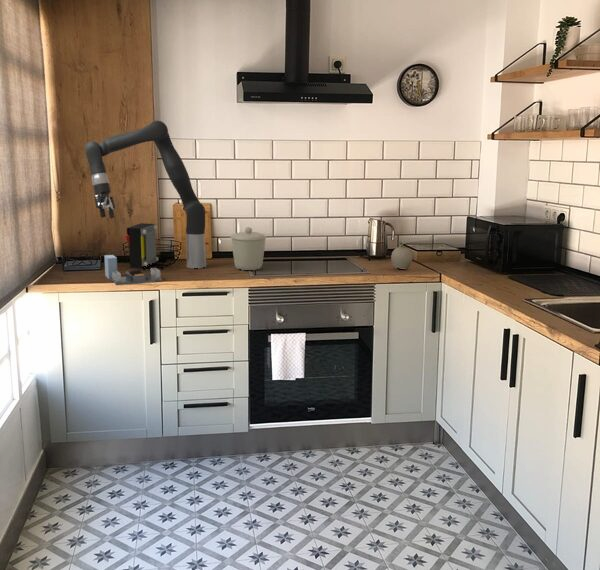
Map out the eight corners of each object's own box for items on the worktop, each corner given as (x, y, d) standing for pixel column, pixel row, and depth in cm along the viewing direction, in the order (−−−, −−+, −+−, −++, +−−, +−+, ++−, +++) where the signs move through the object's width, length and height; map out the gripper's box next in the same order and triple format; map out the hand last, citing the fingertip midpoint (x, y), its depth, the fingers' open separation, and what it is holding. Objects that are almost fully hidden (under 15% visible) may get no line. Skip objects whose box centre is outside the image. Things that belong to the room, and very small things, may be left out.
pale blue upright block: (105, 276, 331) (104, 255, 329) (113, 275, 333) (113, 254, 330) (108, 279, 324) (107, 258, 322) (117, 278, 326) (116, 257, 323)
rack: (110, 279, 323) (110, 270, 322) (155, 276, 333) (155, 266, 332) (116, 285, 313) (115, 275, 312) (162, 281, 322) (162, 271, 321)
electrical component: (145, 268, 349) (144, 228, 345) (126, 267, 351) (125, 227, 347) (159, 262, 366) (158, 224, 362) (141, 261, 368) (140, 223, 363)
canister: (231, 265, 360) (230, 224, 356) (266, 265, 362) (266, 224, 357) (229, 272, 343) (229, 229, 338) (266, 272, 344) (267, 230, 339)
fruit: (405, 266, 365) (407, 238, 361) (414, 271, 354) (416, 241, 350) (386, 267, 362) (388, 238, 359) (395, 271, 351) (396, 242, 348)
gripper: (100, 180, 323) (107, 215, 323) (115, 183, 337) (122, 216, 337) (86, 184, 325) (93, 218, 325) (101, 187, 339) (108, 220, 339)
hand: (108, 217), depth 331 cm, fingers open, 8 cm apart
